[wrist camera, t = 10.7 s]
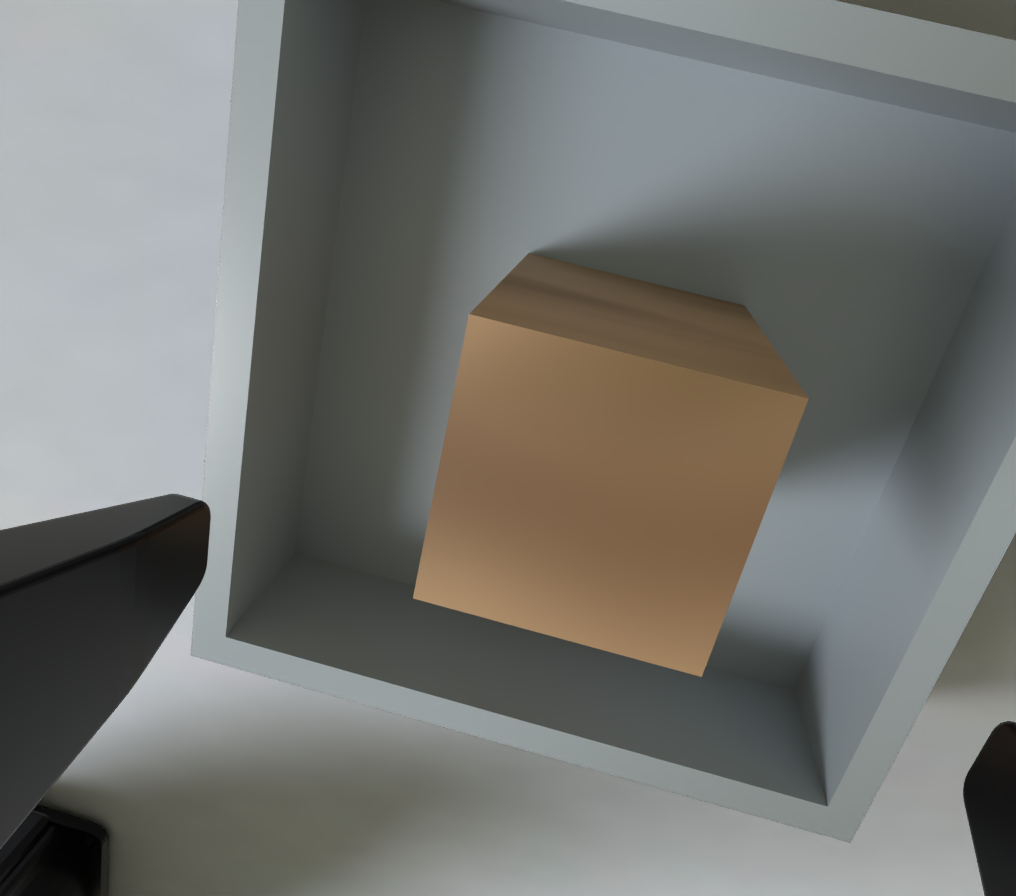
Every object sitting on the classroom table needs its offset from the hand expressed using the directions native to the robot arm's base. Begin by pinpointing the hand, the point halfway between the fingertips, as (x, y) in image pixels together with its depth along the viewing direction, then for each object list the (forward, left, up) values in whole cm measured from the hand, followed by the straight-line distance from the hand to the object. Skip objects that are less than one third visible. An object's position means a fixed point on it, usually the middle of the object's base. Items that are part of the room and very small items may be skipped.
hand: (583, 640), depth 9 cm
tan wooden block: (0, 0, -11) cm, 11 cm away
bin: (0, 0, -12) cm, 12 cm away
